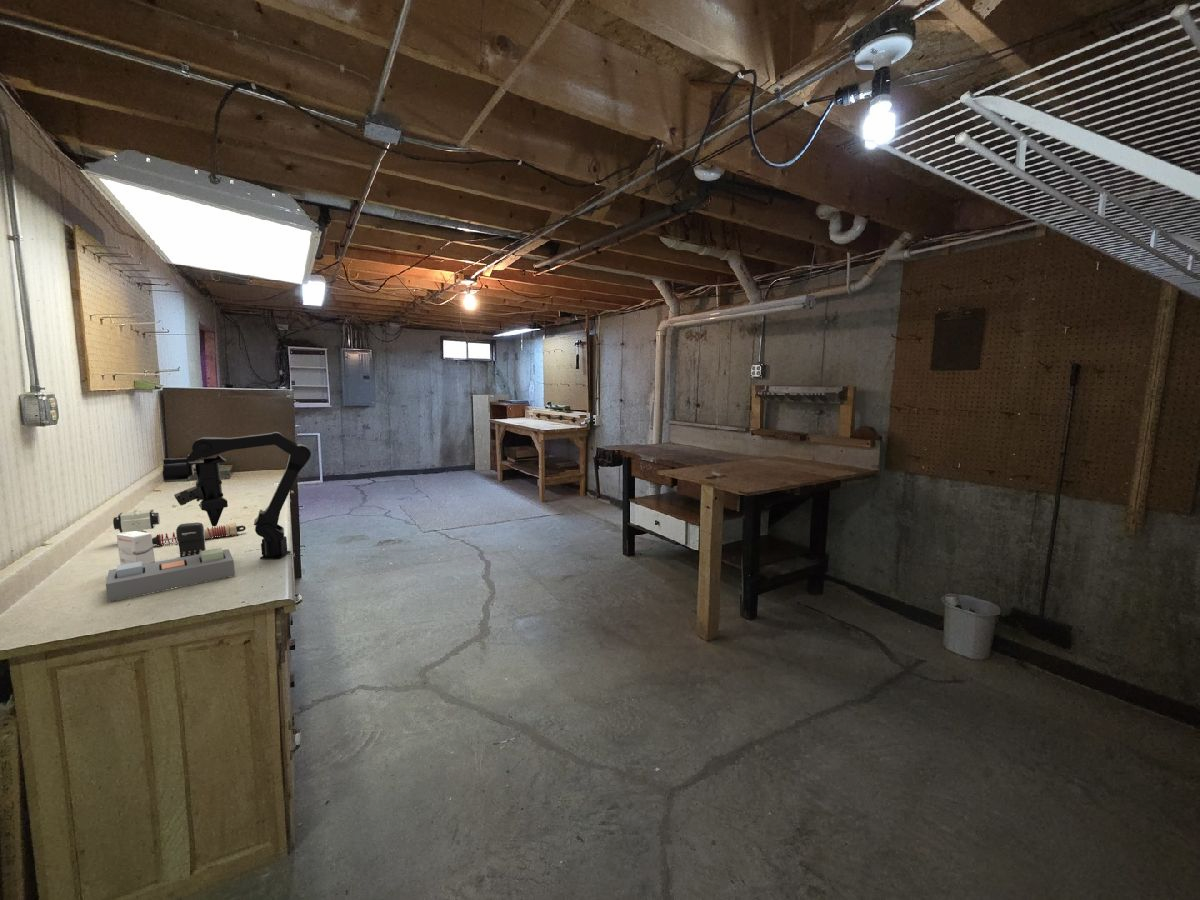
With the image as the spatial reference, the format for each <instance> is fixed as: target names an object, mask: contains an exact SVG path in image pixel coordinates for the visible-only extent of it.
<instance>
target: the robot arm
mask: <svg viewBox="0 0 1200 900" xmlns="http://www.w3.org/2000/svg"><path fill="white" fill-rule="evenodd" d="M272 445H273V446H276V447H278V448H279V449H281V450H283V452H285V453H287V454H289V456H288V460H287V464H286V468H285V470H284V473H283V474H282V476H281V479H280V481H279V483H278V485H277V486H276V489H275V491H274V493H273V495H272V498H271V500H270V501H269V504H268V506H267V507H266V508H265V509H264V510H262V509H259V511H258V515H257V516H256V518H255V519H254V522H253V526H255V528H254V531H255V534H256V535H257V536H259V537H261V543H260V549H261V555H260V557H259V558H260V559H261V560H263V559H265V560H268V559H271V560H275V559H282V558H283V557H285V556H287V555H288V554H290V553H291V550H288V540H287V536H286V535H285V528H284V527H283V526H282V525H280V524H278V523H279V521H280V520H279V518H280V513H281V511H282V508H283V506H284V504H285V502H286V500H287V498H288V497H289V496H288V495H289V494H290V491H291V489H292V487H293V485H294V483H295V482H296V479H297V477H298V474H299V473H300V472H301V470H302V469H303V468H304V467H305V465H306V464H307V463H308V461H309V460H310V459H311V457H312V451H311V449H310V448H309V447H308V446H307V445H306V444H303V443H296V442H295V441H293V440H292V439H290V438H288V437H287V436H285V435H283V434H282V433H280V432H278V431H273V432H270V433H261V434H252V435H243V436H236V437H219V436H217V437H216V436H203V437H200V438H198V439H196V440H195V441H194V443H192V446H191V450H192V451H191V453H190V454H188V455H187V456H186V457H179V458H171V457H170V458H164V459H162V461H163V463H162V478H163V481H164V482H174V481H185V480H187V481H188V480H190V479H191V478H190V477H191V476H194V475H195V473H196V481H195V486H193V487H190V488H187V489H184V490H182V491H179V492H177V493H175V494H173V496H174V498H175V500H176V501H177V503H178V505H179V506H181V507H182V506H184V505H186V504H188V503H191V502H192V501H195V500H196V502H199V504H198V506H199V508H200V510H201V511H204V512H206V513H207V517H208V519H209V522H210V524H211V526H212V527H217V526H218V523H219V521H220V518H221V515H222V514H223V510H224V509H225V508H228V500H227V499H226V498H224V493H223V491H222V490H223V488H222V483H223V482H222V479H221V471H220V463H221V464H223V463H226V461H227V459H226V458H224V457H222V455H221V454H223V453H226V452H229V451H235V450H241V449H250V448H256V447H264V446H266V447H267V446H272ZM212 456H213V457H212ZM214 456H215V457H214ZM201 458H203V460H200V461H198V460H199V459H201ZM194 466H195V470H194Z"/></svg>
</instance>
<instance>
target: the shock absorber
mask: <svg viewBox="0 0 1200 900" xmlns="http://www.w3.org/2000/svg"><path fill="white" fill-rule="evenodd" d="M245 530H246V526H245V525H237V523H236V522H234V523H228V524H225V525H219V526H218V525H217V526H212V527H211V528H209V527H206V528H204V532H205V538H207V539H211V538H212V537H213V538H212V539H216V538H215V536H216V537H217V536H218V538H219V536H220V538H223V536H224V535H225V537H227V536H229V537H231V536H230V535H235V536H237V535H238V533H240V532H244V531H245ZM236 534H237V535H236ZM222 535H223V536H222ZM226 535H227V536H226ZM170 540H171V542H170ZM174 541H175V543H176V544H177V543H178V541H177V536H176V534H175V532H173V533H172V537H169V536H168V533H167V532H165V538H164V534H163V533H161V534H160V533H159V534H156V536H154V537H152V543H153V546H154V545H156V546H157V547H159V546H158V545H162V544H163V545H162V546H164V544H165V543H166V544H167V542H168V544H169V545H170V544H171V543H172V542H173V543H174Z"/></svg>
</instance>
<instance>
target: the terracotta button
mask: <svg viewBox="0 0 1200 900" xmlns="http://www.w3.org/2000/svg"><path fill="white" fill-rule="evenodd" d="M161 565H162V570H164V569H170V568H175V567H180V566H185V563H184V560H182V561H176V562H171V563H165V564H161Z"/></svg>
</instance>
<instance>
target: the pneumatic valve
mask: <svg viewBox="0 0 1200 900" xmlns="http://www.w3.org/2000/svg"><path fill="white" fill-rule="evenodd" d="M160 520H161V519H160V513H159V512H155V511H154V509H146V510H138V509H133V511H127V512H126V511H125V512H120V513H119V514H118V515H117V516H115V517H113V521H112V522H113V523H112V524H113V528H114V530H117V531H119V534H121V533H126V532H132V531H139V532H145V533H148V531H146V530H154V529H155V527H156V525H160V523H161V521H160Z"/></svg>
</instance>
